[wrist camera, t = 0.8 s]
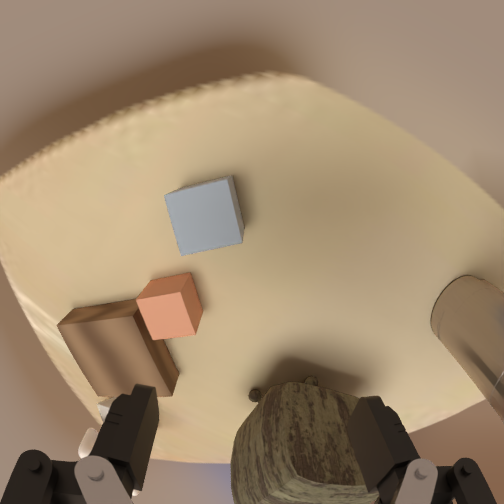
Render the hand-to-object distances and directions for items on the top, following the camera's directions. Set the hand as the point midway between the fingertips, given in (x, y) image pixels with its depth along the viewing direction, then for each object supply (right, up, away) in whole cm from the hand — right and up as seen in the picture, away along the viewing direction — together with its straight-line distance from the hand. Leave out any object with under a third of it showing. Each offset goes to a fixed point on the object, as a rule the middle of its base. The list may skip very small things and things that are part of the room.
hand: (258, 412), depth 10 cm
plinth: (-16, -5, +22) cm, 27 cm away
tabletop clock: (+6, -11, +24) cm, 27 cm away
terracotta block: (-8, +2, +20) cm, 21 cm away
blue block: (-4, +10, +17) cm, 20 cm away
